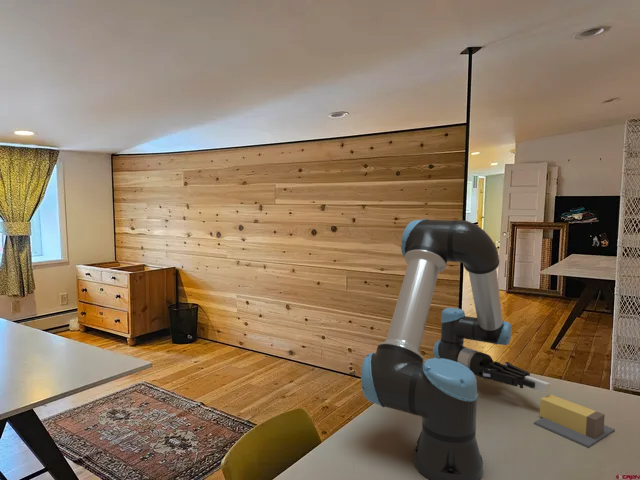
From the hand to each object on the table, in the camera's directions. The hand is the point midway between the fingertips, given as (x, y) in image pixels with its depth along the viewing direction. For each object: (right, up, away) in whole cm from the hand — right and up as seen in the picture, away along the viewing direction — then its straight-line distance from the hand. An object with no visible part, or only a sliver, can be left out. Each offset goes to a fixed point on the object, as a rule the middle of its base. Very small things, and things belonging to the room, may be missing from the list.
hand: (548, 388), depth 120 cm
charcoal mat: (+4, -8, -6) cm, 11 cm away
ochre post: (0, -5, +1) cm, 5 cm away
